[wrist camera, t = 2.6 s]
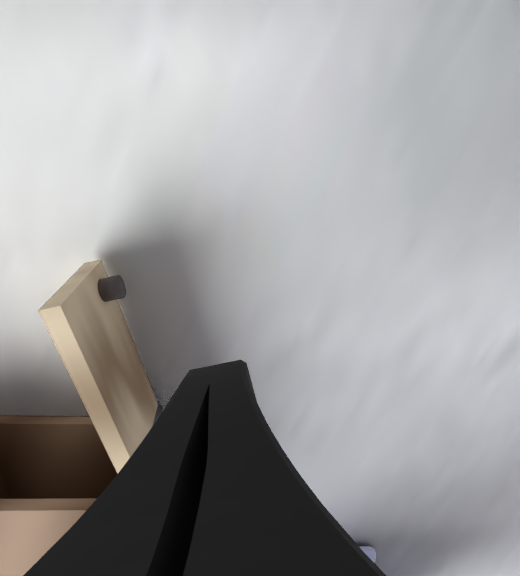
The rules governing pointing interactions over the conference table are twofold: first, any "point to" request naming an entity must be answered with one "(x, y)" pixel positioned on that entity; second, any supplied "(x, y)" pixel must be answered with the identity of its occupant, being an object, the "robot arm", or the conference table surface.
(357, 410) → the conference table surface
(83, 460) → the box
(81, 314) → the left door
